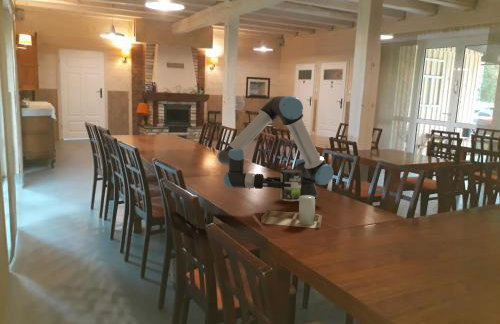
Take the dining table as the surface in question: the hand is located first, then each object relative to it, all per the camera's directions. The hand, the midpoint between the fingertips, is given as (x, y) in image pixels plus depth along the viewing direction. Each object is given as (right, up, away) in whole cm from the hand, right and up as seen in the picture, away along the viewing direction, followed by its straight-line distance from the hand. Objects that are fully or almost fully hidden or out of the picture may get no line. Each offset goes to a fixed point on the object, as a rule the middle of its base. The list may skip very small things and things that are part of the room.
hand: (299, 183), depth 192 cm
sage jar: (+1, -17, -15) cm, 23 cm away
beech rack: (-5, -18, -12) cm, 22 cm away
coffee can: (-4, -8, +2) cm, 9 cm away
